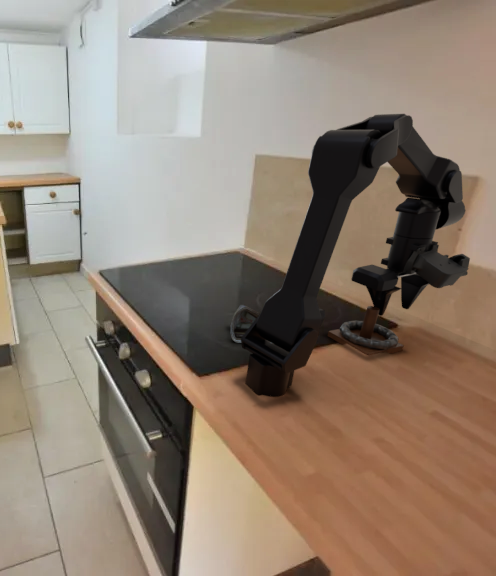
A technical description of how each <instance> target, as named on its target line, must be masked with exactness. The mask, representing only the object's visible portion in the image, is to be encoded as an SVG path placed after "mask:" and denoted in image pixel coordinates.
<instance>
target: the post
mask: <svg viewBox="0 0 496 576" xmlns="http://www.w3.org/2000/svg"><path fill="white" fill-rule="evenodd" d="M379 310H380V309H379V308H377V307H374V305H372V306H371V305H368V306H367V307H366V310H365V313H364V318H363V320H362V321H363V324H362V328H361V329H357V328H355V329H350V331H351V332H352V333H354V334H356V335H358V336H360V337H363V338H367V339H370V340H379V341H384V340H388V339H387V338H386V337H385V336H383V335H381V334H379V333H377V332H374V327H375V324H377V320H378V318H379V317H378V316H379V315H378V314H379ZM339 329H340V328H338V329H332V330H328V332H327V337H328V338H330V339H332V340H333V341H335V342H336V343H338V344H340V345H343V346H344V345H349V346H350V347H352V348H354V349H355V350H357V351H358V352H360V353H363V354H364V355H366V356H372V355H376V354H382V353H384V352H386V353H388V354H393V353H395V354H396V353H398V352H402V351H403V349H404V346H405V345H404V344H403V343H400V342H398V344H397V346H396V347H394V348H389V349H385V350H383V349H372V348H367V347H364V346H361V345H357V344H355V343H353V342H351V341H349V340H348V339H346V338H344V336H343V335H342V334H341V332H340V330H339Z"/></svg>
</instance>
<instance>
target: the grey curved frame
mask: <svg viewBox="0 0 496 576" xmlns="http://www.w3.org/2000/svg"><path fill="white" fill-rule="evenodd" d="M238 306H239V307H238V308H237V309H236V310H235V312H234V314H233V316H232V319H231V323H230V324H229V326H230V327H229V328H230V337H231V340H232V341H234V342H235V343H240V344H241V338H242V336H243V335H244V334H245V333H246V331H247V330H248V329H249V327H250V326H251V325H252V324H253V322H254V321H255V320H256V318H257V317H258V316H259V315H260V313H261V312H260V313H259V312H258V311H256V310H254V309H252V308H250V307H248V306H247V305H245V304H239V305H238ZM265 340H266V339H265ZM267 341H268V340H267ZM268 342H270V341H268ZM270 343H271V342H270ZM272 344H273V343H272Z"/></svg>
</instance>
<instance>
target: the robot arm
mask: <svg viewBox="0 0 496 576" xmlns="http://www.w3.org/2000/svg"><path fill="white" fill-rule="evenodd" d="M413 122H414V120H413V118H412V116H411V115H408V114H406V113H386V114H383V113H382V114H374V115H373V116H369V117H367V118H366V119H364V120H362V121H359V122H355V123H353V124H349V125H347V126H346V125H345V126H343V127H340V128H337V129H329V130H328V131H326V132H324V134H322V135H319V137H318V138H317V139H316V141H315V143H314V145H313V147H312V150H311V156H310V161H309V166H308V170H307V174H308V178H309V182H310V186H311V189H312V196H311V198H310V201H309V205H308V208H307V211H306V214H305V217H304V220H303V223H302V226H301V229H300V232H299V235H298V238H297V241H296V244H295V248H294V249H293V253H292V256H291V259H290V262H289V264H288V268H287V270H286V274H285V276H284V280H283V282H282V286H281V287H280V289H279V290H277V291H276V292H275V293H273V295H271V296H270V297H269V298H268V299H267V300H265V302H264V304H263V306H262V309H261V311H260V315H259V316H258V317H257V318H256V320H255V321H254V322H253V324H252V325H251V326H250V327H249V329H248V330H247V331H246V333H245V334H244V335H243V336H242V338H241V343H240V345H241V348H242V349H244V350H246V351H248V352H249V353H250V354H249V357H248V364H247V370H246V376H245V383H244V384H245V385H246V387H248V388H249V389H250V390H251V391H252V392H253V393H255V395H256V396H265V397H273V398H276V397H277V398H278V397H281V396H283V395H285V394H286V392H287V389H290V388H291V387H292V385H293V379H294V376H295V375H294V374H295V371H297V370H299V369H301V368H304V367H306V366H307V364H308V361H309V359H310V357H311V355H312V353H313V351H314V348H315V346H316V344H317V342H318V339H319V336H320V332H321V328H322V325H323V323H324V320H325V318H326V310H325V309H322V308H320V307H319V302H318V299H317V298H318V294H319V291H320V289H321V286H322V285H323V280H324V278H325V276H326V272H327V269H328V267H329V265H330V262H331V259H332V256H333V253H334V250H335V247H336V245H337V242H338V240H339V237H340V235H341V231H342V229H343V226H344V223H345V220H346V219H347V215H348V212H349V210H350V208H351V204H352V202H353V200H354V199H356V197H358V196H359V195H360V194H361V193H362V192H364V191H365V190H366V189H367V188H368V187H369V186H370V185H372V184H373V182H374V180H375V179H376V176H377V174H378V172H379V171H380V167H381V166H383V165H385V164H386V163H388V164H389V165H390V167H391V168H392V169H393V170H394V171H395V172H396V173H397V175H398V176H397V179H396V180H395V184H396V186H397V188H398V190H399V191H400V194H403V195H404V196H405V200H404V201H403V202H401V203H399V204H397V206H396V207H395V209H394V210H395V212H398V215H397V219H396V223H395V227H394V230H393V234H392V236H390V237H386V239H385V244H387V245H390V247H389V251H388V255H387V257H384V258H381V260H380V265H383V266H386V268H384V267H381V266H378V265H375V264H367V265H362V266H358V267H357V268H355V269H353V270H352V275H351V282H354V283H356V284H359V285H361V286H364V287H366V290H367V292H368V295H369V296H370V299H371V303H372V306H374V307H377V308H379V309H380V310H379V314H378V316H380V317H383V316H384V315H385V312H386V310H387V308H388V305H389V302H390V300H391V297H392V295H393V294H394V293H396V292H398V291H400V301H401V308H402V309H404V310H409V309H410V308H411V307H412V305H413V304H414V303H415V301H416V300H417V299H418V298H419V297H420V295H421V294H422V292H423V291H424V290H425V289H426V288H427V287H428V286H429V285H430V286H431V287H432V288H436V289H442V288H444V287H448V286H449V287H450V286H454V284H455V283H456V282H457V281H458V280H459V279H460V278H461V277H465V276H467V275H468V274H469V273H468V270H469V269H470V268H469V266H470V260H471V258H470V257H469V256H467V255H465V254H464V253H459V254H455V255H452V256H450V255H449V254H442V253H440V252H438V251H439V247H440V245H439V244H438V243H439V242H438V241H434V236H435V233H436V230H439V229H443V228H446V227H449V226H451V225H454V224H457V223H458V222H460V221H461V220H462V218H464V216H465V214H466V210H467V209H466V206H465V203H464V201H463V198H464V195H463V194H464V193H463V192H464V191H463V173H462V171H461V169H460V166H459V163H457V162H455V161H453V159H450V158H447V157H444V156H443V157H442V156H439V155H436V154H434V153H433V151H432V150H431V149H430V147H429V146H428V144H427V143H426V142H425V140H424V139H423V138H422V136H421V135H420V133H419V132H418V131H417V130H416V129H415V127H414V126H413V125H414V123H413ZM449 256H450V257H449ZM399 278H400V287H399V286H397V284H398V281H399ZM265 339H266V340H265ZM267 340H268V341H270V342H271V343H270V342H268V341H267ZM272 343H273V344H272Z"/></svg>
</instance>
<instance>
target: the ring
mask: <svg viewBox="0 0 496 576" xmlns="http://www.w3.org/2000/svg"><path fill="white" fill-rule="evenodd" d="M363 321H364V320H349V321H345V322H343V323H342V324H341V326H340V327H339V328H338V329H339V330H340V332H341V334H342V335H343V336H344V338H346V339H348V340H349V341H351V342H353V343H355V344H357V345H361V346H364V347H367V348H372V349H383V350H385V349H389V348H394V347H396V346H397V344H398V343H399V340H400V339H399V336H398V335H397V334H396V333H395V332H394V331H393V330H391V329H389V328H387V327H385V326H383V325H381V324H378V323H376V324H375V327H374V332H377V333H379V334H381V335H383V336H385V337H386V338H387V339H388V340H384V341H379V340H370V339H367V338H363V337H360V336H358V335H356V334H354V333H352V332H351V331H350V329H355V328H357V329H361V328H362V324H363Z"/></svg>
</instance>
